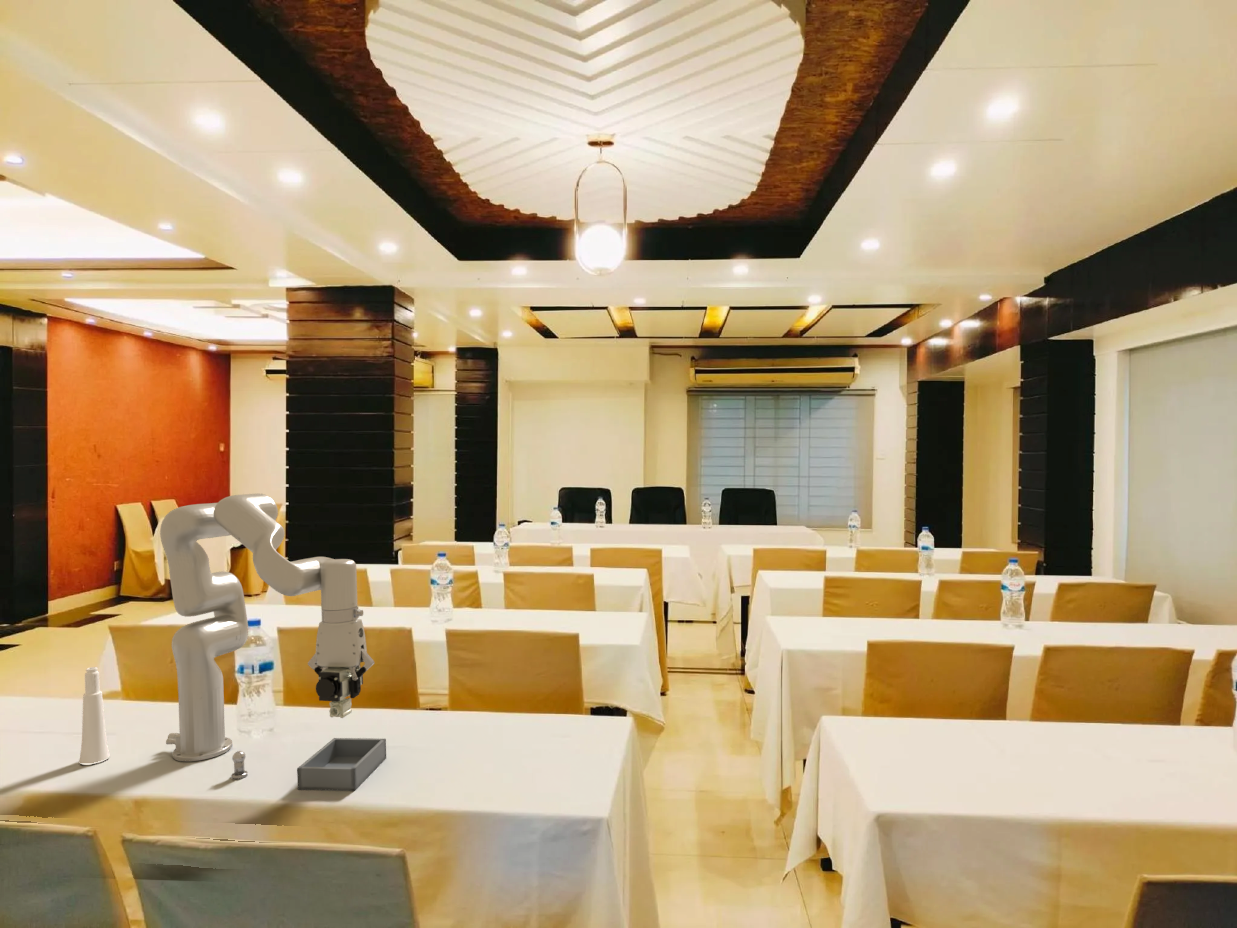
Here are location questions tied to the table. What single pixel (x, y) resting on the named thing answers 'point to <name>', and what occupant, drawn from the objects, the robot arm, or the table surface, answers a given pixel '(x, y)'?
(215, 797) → the table surface
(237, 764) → the metal knob
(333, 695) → the pneumatic valve
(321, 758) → the tray
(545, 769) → the table surface
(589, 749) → the table surface
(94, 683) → the cosmetic bottle
